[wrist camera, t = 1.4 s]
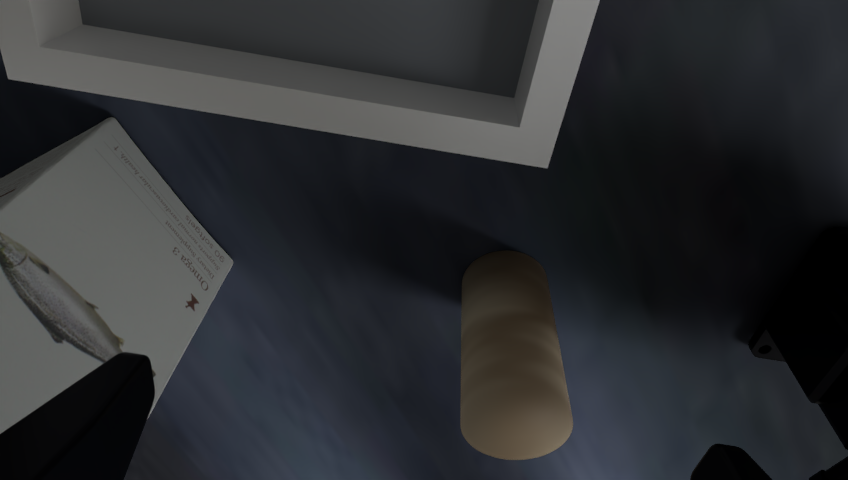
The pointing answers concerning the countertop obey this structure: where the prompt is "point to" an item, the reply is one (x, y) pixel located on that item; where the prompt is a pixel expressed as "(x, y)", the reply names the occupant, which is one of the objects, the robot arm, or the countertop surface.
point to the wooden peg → (511, 360)
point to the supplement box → (96, 268)
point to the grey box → (323, 63)
